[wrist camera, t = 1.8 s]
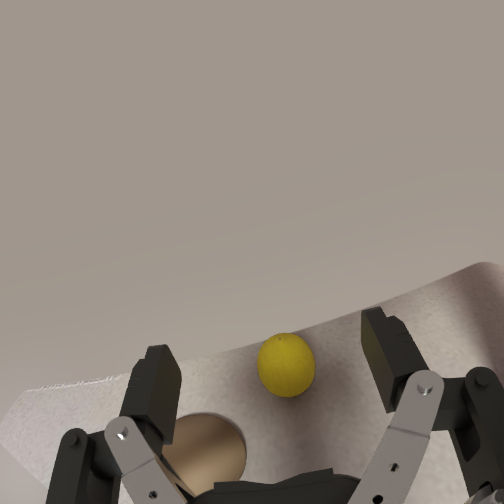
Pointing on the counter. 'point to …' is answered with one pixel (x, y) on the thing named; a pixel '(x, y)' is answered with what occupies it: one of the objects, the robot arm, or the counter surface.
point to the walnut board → (205, 452)
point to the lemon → (286, 365)
